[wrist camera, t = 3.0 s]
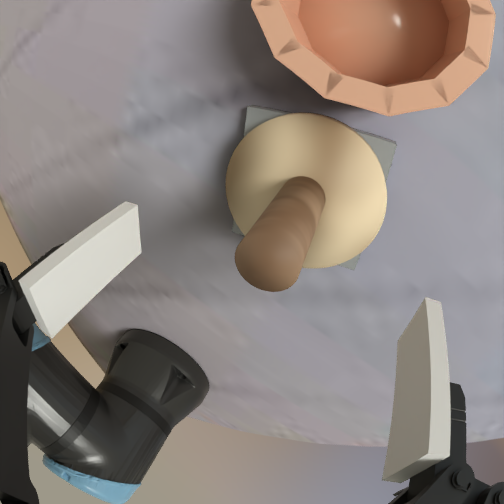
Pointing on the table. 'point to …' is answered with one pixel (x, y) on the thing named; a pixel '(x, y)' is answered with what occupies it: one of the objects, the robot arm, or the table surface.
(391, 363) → the table surface
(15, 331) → the robot arm
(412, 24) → the bowl
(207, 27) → the table surface
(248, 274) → the lid
